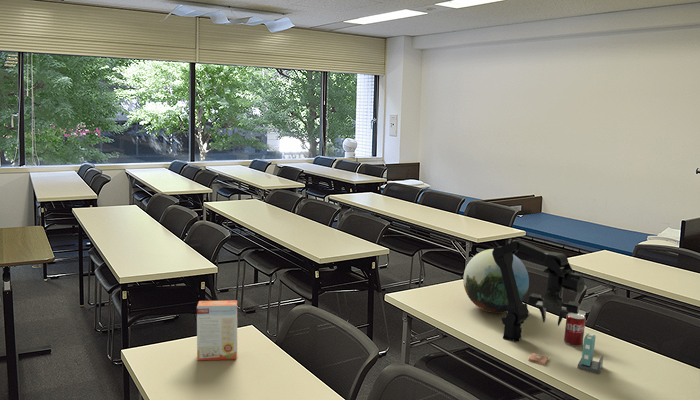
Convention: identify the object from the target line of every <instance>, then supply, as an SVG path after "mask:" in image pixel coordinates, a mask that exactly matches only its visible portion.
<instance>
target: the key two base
mask: <svg viewBox="0 0 700 400" xmlns="http://www.w3.org/2000/svg"><path fill="white" fill-rule="evenodd" d="M604 357H605V356H604V355H603V354H602V355H600V357H599V358H600V359H599V360H598V361H596V360H593V361H592V363H591V365H590V366H587V365H584V364H581V361H582V357H581V358H580V360H579V361H578V364H577V369H579V370H583V371H587V372H590V373H594V374H597V375H600V373H601V371H602V369H603V363H604Z"/></svg>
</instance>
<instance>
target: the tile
mask: <svg viewBox="0 0 700 400" xmlns="http://www.w3.org/2000/svg"><path fill="white" fill-rule="evenodd" d="M548 361H549V356H546V355H543V354H538V353H535V352H532V353H531V354H530V356H528V362H530V363H536V364H538V365H542V366H546V363H547V362H548Z"/></svg>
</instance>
